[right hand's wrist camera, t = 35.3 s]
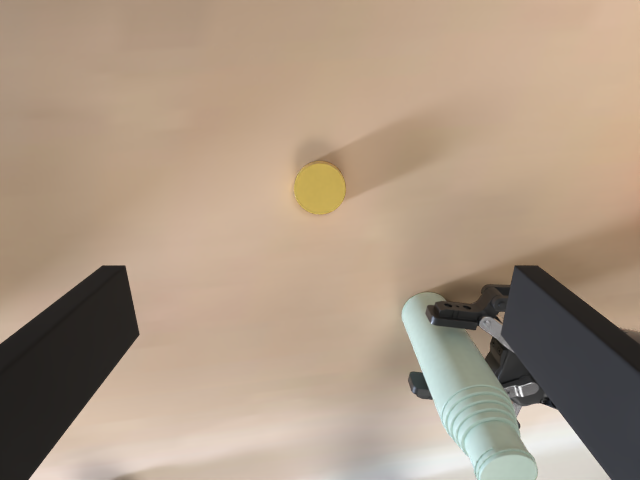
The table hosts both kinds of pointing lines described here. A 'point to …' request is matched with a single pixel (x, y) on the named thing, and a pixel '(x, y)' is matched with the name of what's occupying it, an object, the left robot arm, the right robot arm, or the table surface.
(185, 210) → the table surface
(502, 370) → the left robot arm
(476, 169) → the table surface
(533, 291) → the right robot arm
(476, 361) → the bottle
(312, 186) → the cap
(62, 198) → the table surface
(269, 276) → the table surface
